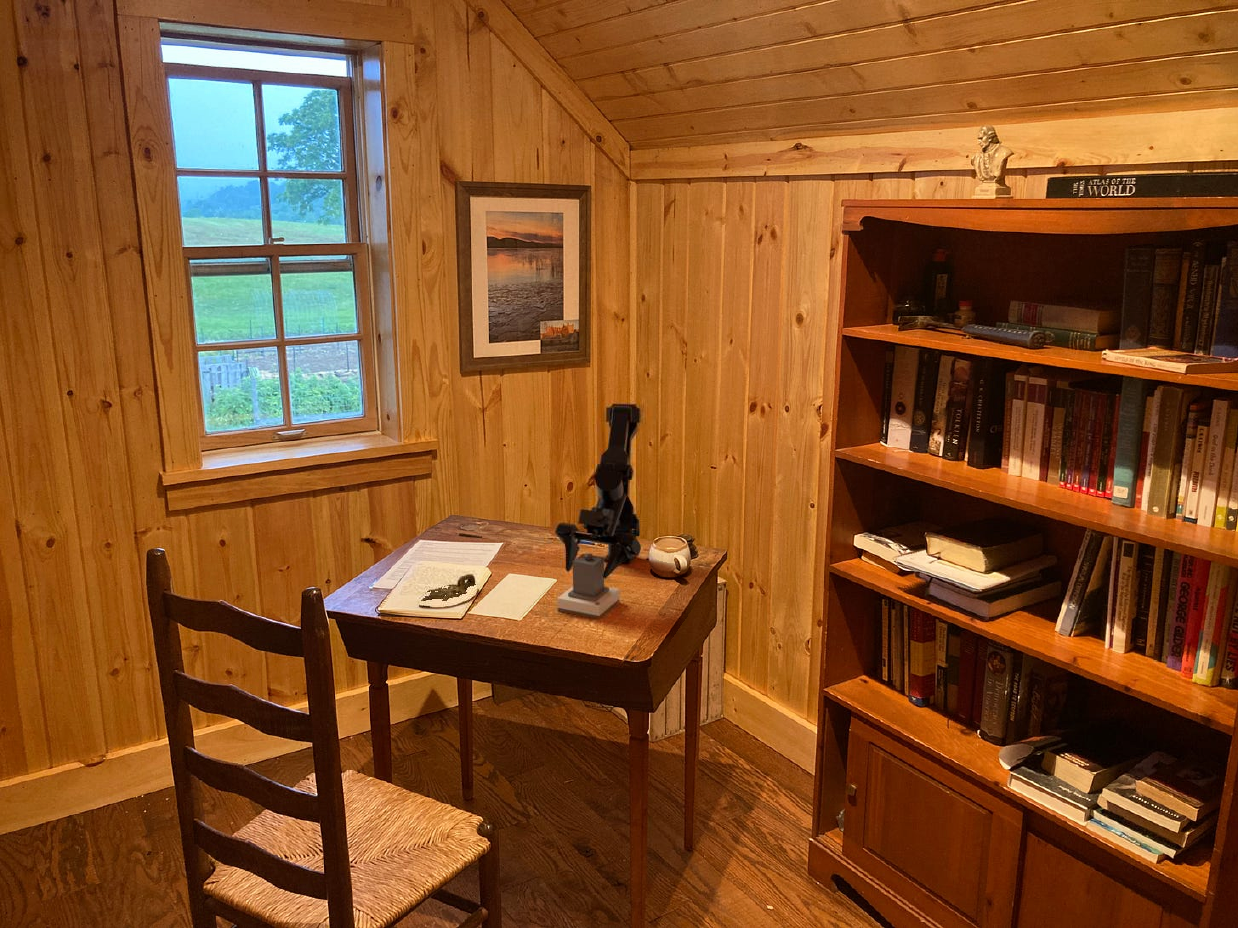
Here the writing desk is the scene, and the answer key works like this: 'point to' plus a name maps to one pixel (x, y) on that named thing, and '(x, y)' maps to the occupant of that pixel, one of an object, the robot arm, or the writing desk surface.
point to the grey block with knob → (588, 578)
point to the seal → (452, 589)
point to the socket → (588, 604)
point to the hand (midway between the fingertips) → (585, 574)
